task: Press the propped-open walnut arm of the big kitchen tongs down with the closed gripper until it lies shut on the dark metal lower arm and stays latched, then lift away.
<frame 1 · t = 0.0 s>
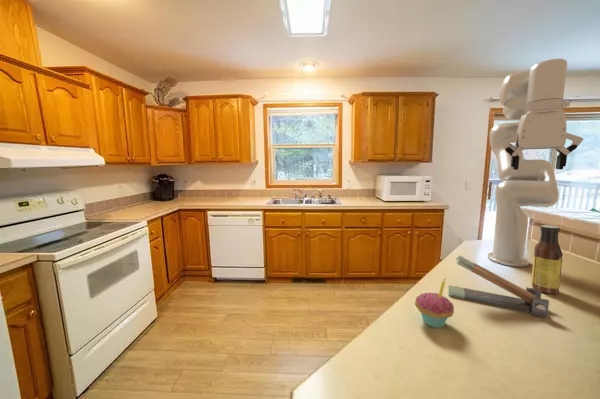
hand: (536, 169, 74), 37 cm above the counter, tool pointing down, fingers open, 9 cm apart
sauce bottle: (543, 290, 78), on the counter
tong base: (495, 301, 72), on the counter
cupcake: (433, 322, 64), on the counter
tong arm: (494, 278, 71), point 7 cm above the counter, hinge at 25.0°
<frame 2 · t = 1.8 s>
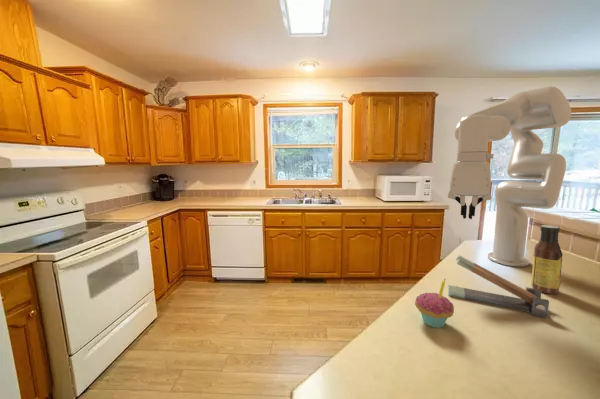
hand: (467, 217, 79), 22 cm above the counter, tool pointing down, fingers closed
nothing on the counter moved.
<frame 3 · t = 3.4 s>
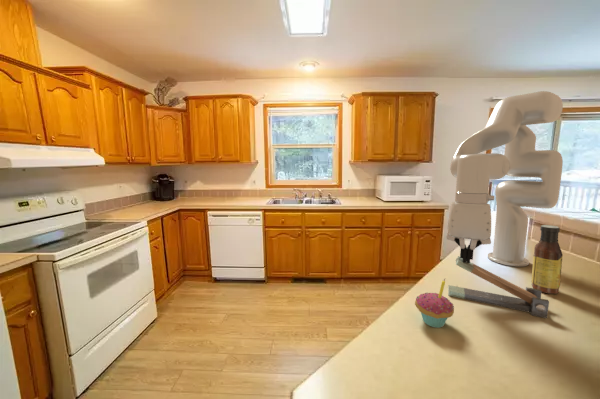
hand: (466, 260, 74), 11 cm above the counter, tool pointing down, fingers closed
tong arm: (494, 279, 71), point 7 cm above the counter, hinge at 23.9°, touching gripper
everything else where it was.
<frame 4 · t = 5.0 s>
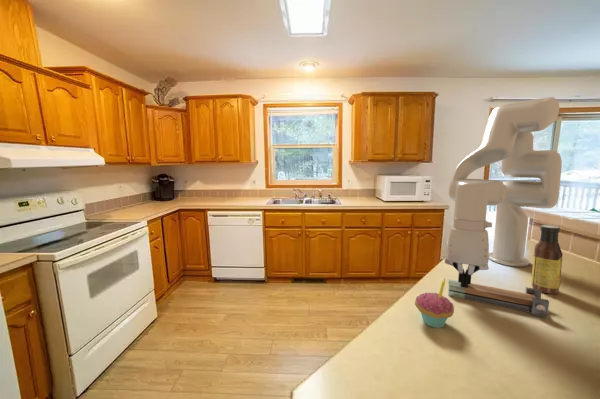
hand: (464, 285, 75), 3 cm above the counter, tool pointing down, fingers closed
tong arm: (489, 292, 72), point 3 cm above the counter, hinge at 0.4°, touching gripper
everything else where it was.
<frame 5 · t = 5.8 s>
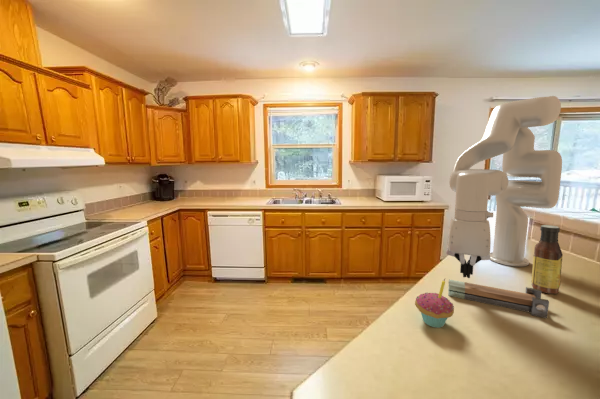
hand: (466, 275, 75), 6 cm above the counter, tool pointing down, fingers closed
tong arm: (489, 292, 72), point 3 cm above the counter, hinge at 0.3°
everything else where it was.
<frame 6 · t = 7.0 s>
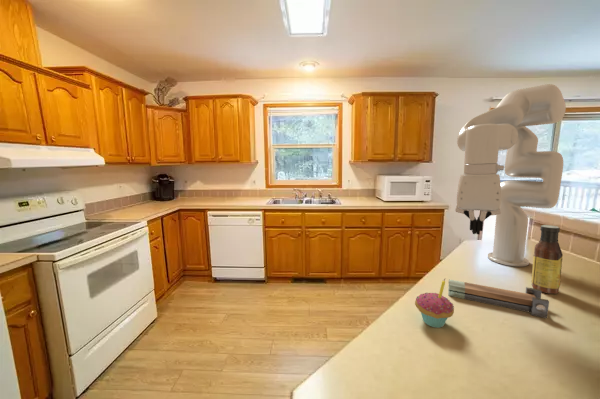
hand: (475, 232, 74), 19 cm above the counter, tool pointing down, fingers closed
nothing on the counter moved.
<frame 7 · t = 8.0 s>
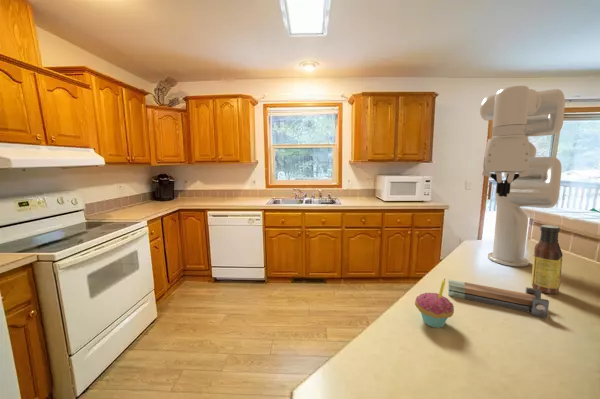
hand: (502, 195, 76), 29 cm above the counter, tool pointing down, fingers closed
nothing on the counter moved.
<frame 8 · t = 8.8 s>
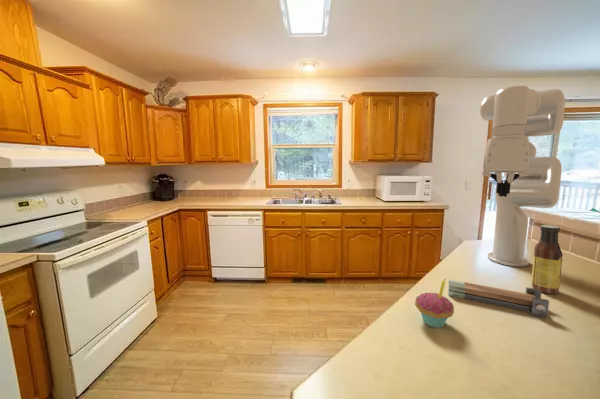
hand: (502, 195, 76), 29 cm above the counter, tool pointing down, fingers closed
nothing on the counter moved.
at the end: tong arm at +0° (first picture: +25°); cupcake moved 0.2 cm from its start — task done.
